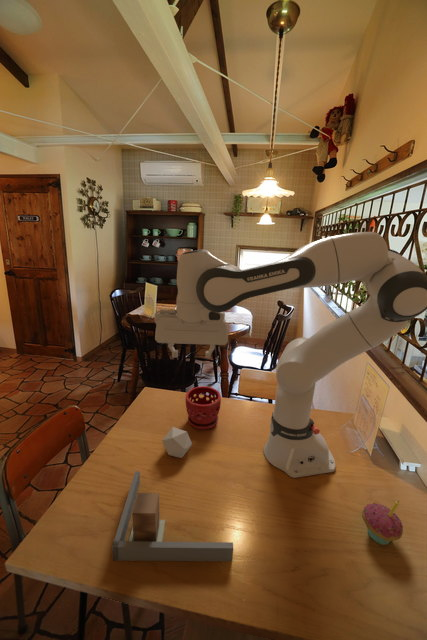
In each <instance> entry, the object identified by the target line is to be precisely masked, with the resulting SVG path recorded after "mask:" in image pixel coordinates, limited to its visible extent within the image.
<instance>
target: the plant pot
mask: <svg viewBox="0 0 427 640" xmlns="http://www.w3.org/2000/svg"><path fill="white" fill-rule="evenodd" d="M207 393H208V394H207ZM200 394H203V397H200ZM207 398H208V399H207ZM221 401H222V397H221V392H219V390H217V389H215V388H214V387H210V386H201V385H200V386H196V387H194V388H191V389H190V390H189V389H188V391H187V392H186V394H185V407H186V414H187V421H188V423H189V425H190V426H192V427H193V428H195V429H198V430H208V429H211V428H213V427H215V426H216V425H217V424H218V421H219V413H220V410H221V403H222V402H221Z"/></svg>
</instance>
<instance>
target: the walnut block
mask: <svg viewBox="0 0 427 640" xmlns="http://www.w3.org/2000/svg"><path fill="white" fill-rule="evenodd" d="M131 517H132V519H131V520H132V527H133V540H134V541H144V542H157V537H158V531H159V525H160V524H159V520H160V492H137V495H136V499H135V502H134V506H133V510H132V513H131Z"/></svg>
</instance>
